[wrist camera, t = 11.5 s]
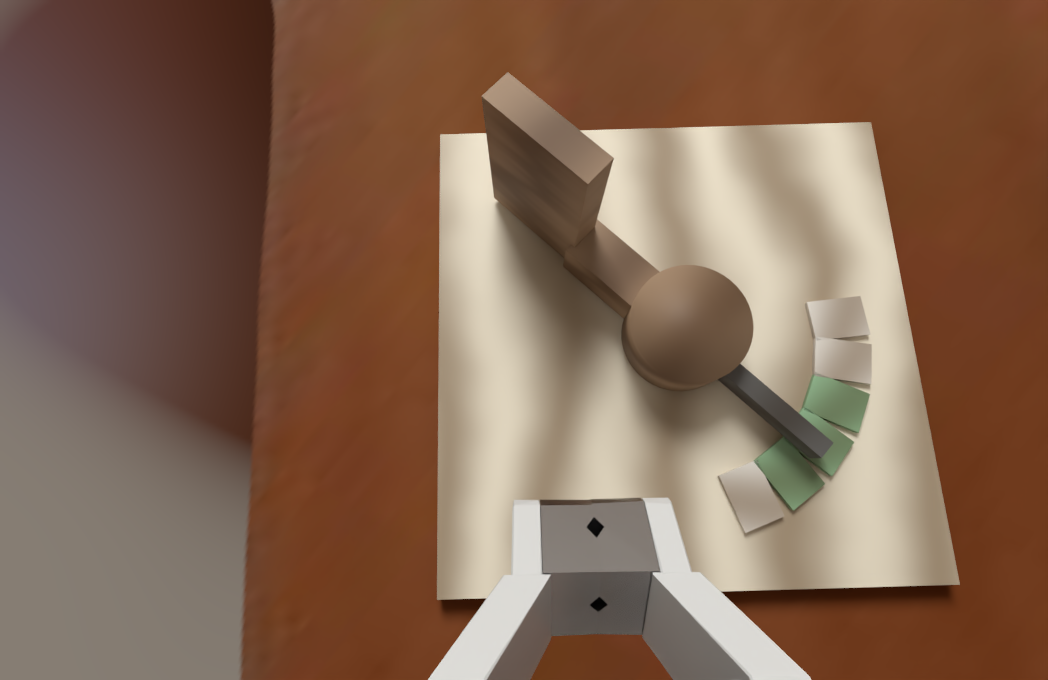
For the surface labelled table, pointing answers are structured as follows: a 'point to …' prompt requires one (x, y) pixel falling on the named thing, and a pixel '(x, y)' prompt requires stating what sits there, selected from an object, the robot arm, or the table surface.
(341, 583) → the table surface
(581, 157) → the brown wooden long piece
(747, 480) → the tuner board
